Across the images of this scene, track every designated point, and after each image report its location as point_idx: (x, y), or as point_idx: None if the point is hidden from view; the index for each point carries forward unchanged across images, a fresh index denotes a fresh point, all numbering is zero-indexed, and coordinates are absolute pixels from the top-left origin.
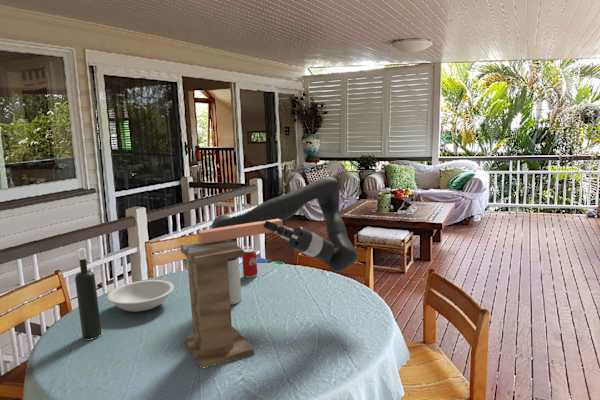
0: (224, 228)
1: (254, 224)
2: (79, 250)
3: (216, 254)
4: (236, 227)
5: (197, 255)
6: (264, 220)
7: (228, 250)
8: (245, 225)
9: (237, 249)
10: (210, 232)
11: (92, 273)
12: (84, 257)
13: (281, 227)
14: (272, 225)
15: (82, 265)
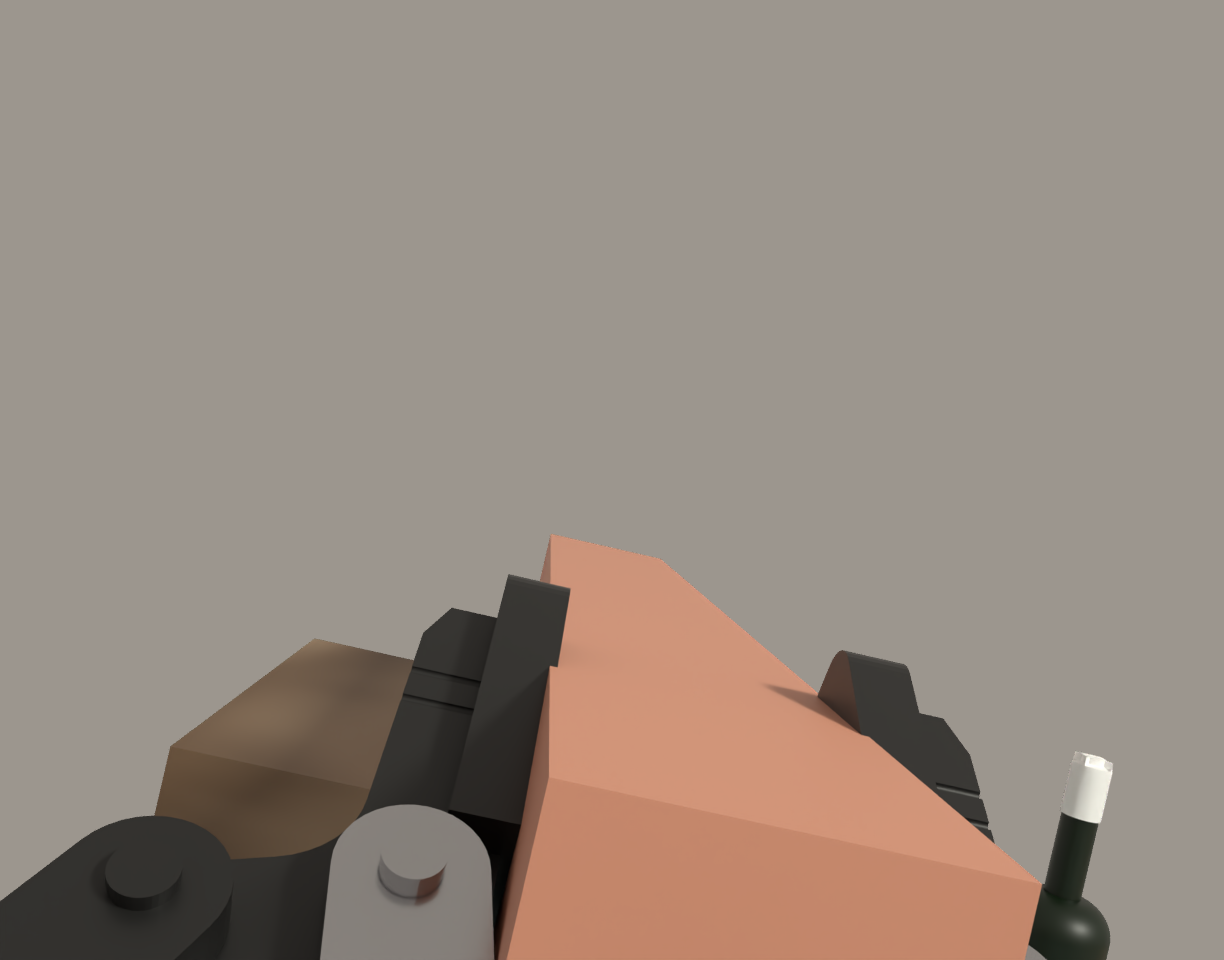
0: (600, 564)
1: (571, 607)
2: (1077, 758)
3: (270, 675)
4: (551, 566)
5: (373, 659)
6: (848, 713)
7: (297, 720)
8: (594, 592)
9: (240, 739)
10: (548, 550)
11: (1062, 918)
12: (1071, 805)
13: (155, 835)
14: (400, 716)
15: (1054, 844)
